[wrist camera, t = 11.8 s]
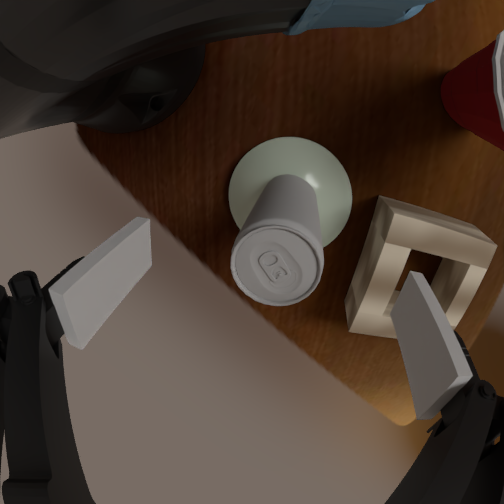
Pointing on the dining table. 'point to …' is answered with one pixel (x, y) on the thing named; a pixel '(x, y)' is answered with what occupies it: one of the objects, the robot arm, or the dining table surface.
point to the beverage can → (280, 244)
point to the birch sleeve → (396, 254)
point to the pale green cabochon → (302, 165)
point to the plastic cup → (478, 93)
